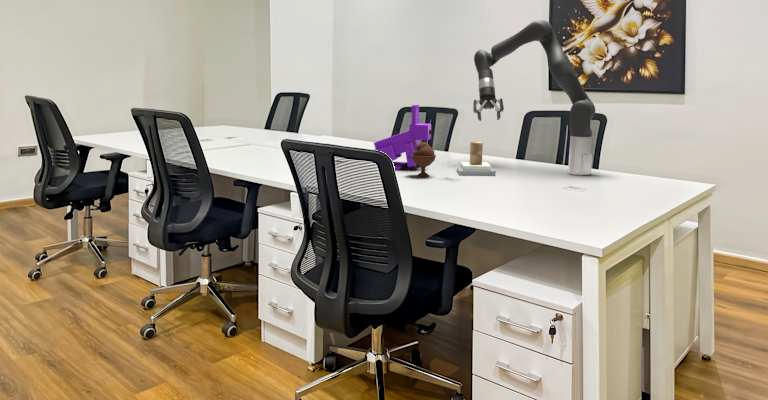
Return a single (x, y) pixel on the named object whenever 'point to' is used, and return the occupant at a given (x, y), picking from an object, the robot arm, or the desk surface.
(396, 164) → the toy
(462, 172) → the plinth
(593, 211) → the desk surface
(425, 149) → the ice cream bowl
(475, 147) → the brown mottled cylinder
